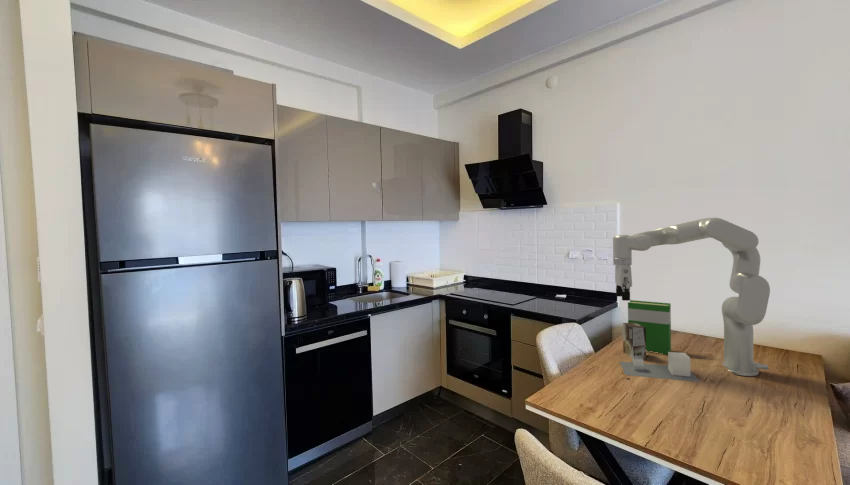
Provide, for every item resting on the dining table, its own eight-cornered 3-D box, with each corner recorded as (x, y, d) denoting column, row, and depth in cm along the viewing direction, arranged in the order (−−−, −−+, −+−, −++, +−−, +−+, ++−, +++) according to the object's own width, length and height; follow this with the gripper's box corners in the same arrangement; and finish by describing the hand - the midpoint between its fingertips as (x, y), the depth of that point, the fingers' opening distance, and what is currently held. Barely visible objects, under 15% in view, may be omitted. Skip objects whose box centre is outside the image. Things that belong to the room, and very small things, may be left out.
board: (686, 370, 157) (686, 366, 157) (700, 385, 142) (700, 381, 142) (619, 364, 166) (619, 361, 166) (625, 378, 151) (625, 374, 151)
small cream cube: (685, 370, 153) (685, 353, 153) (690, 376, 147) (690, 358, 147) (668, 369, 155) (668, 351, 155) (672, 374, 149) (672, 356, 149)
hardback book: (628, 348, 186) (627, 302, 186) (631, 344, 192) (630, 300, 191) (669, 355, 175) (669, 306, 175) (671, 350, 181) (670, 303, 180)
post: (641, 368, 157) (641, 356, 157) (643, 371, 154) (643, 359, 154) (632, 367, 158) (632, 356, 158) (634, 370, 155) (633, 358, 155)
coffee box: (647, 361, 169) (646, 327, 168) (633, 361, 169) (632, 327, 168) (636, 354, 178) (635, 322, 177) (622, 354, 178) (622, 322, 177)
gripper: (637, 263, 158) (638, 302, 158) (625, 259, 175) (626, 295, 175) (618, 263, 160) (619, 301, 160) (608, 260, 176) (609, 294, 177)
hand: (622, 298), depth 168 cm, fingers open, 9 cm apart
